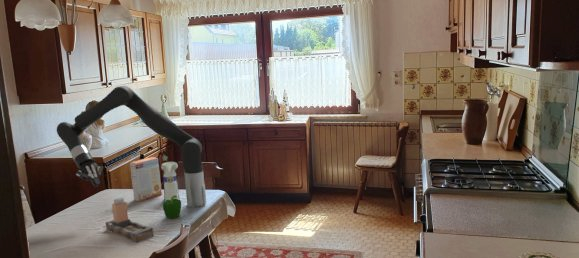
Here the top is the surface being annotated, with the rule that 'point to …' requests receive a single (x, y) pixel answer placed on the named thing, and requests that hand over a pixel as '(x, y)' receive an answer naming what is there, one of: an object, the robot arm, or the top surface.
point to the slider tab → (120, 213)
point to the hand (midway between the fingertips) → (97, 185)
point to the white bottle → (170, 180)
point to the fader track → (131, 231)
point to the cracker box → (145, 178)
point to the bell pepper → (172, 207)
